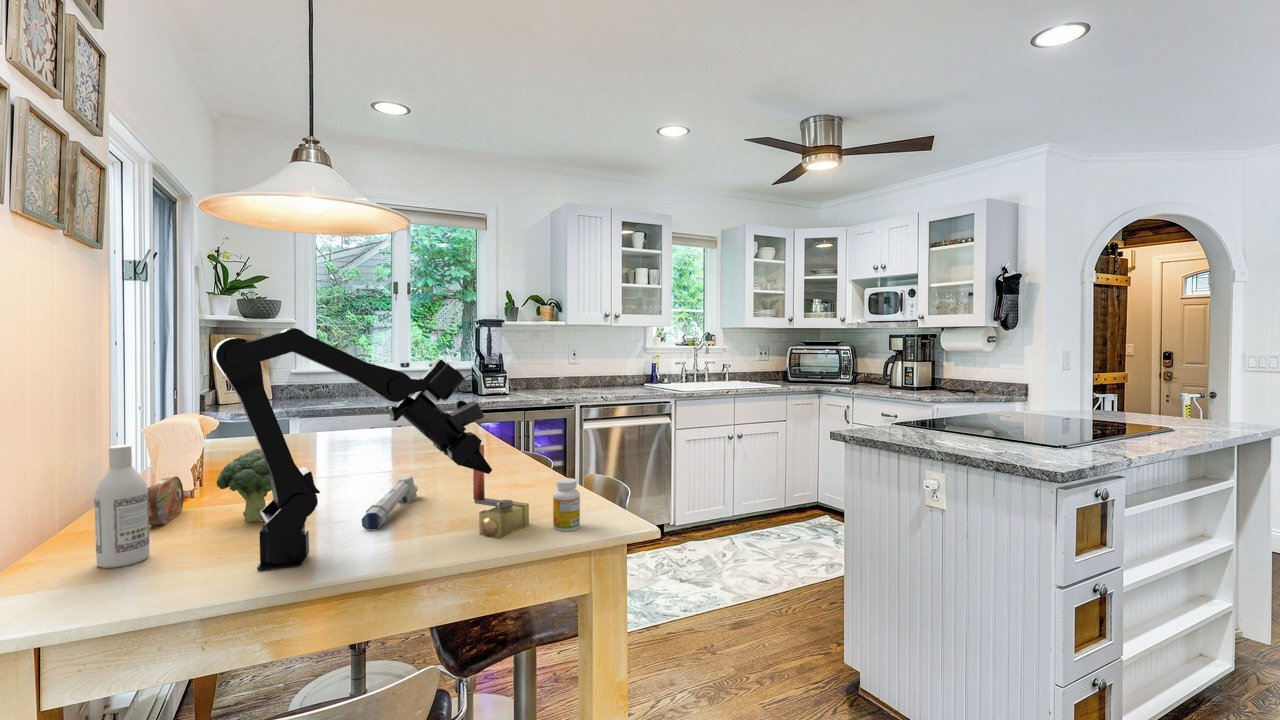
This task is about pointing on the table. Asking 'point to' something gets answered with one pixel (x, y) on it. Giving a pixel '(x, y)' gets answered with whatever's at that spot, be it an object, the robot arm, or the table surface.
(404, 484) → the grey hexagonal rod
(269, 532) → the robot arm
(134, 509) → the bath foam
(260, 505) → the vegetable
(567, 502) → the supplement bottle
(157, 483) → the tin
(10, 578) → the table surface
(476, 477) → the lever
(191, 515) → the table surface
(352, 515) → the table surface
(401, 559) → the table surface
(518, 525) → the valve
